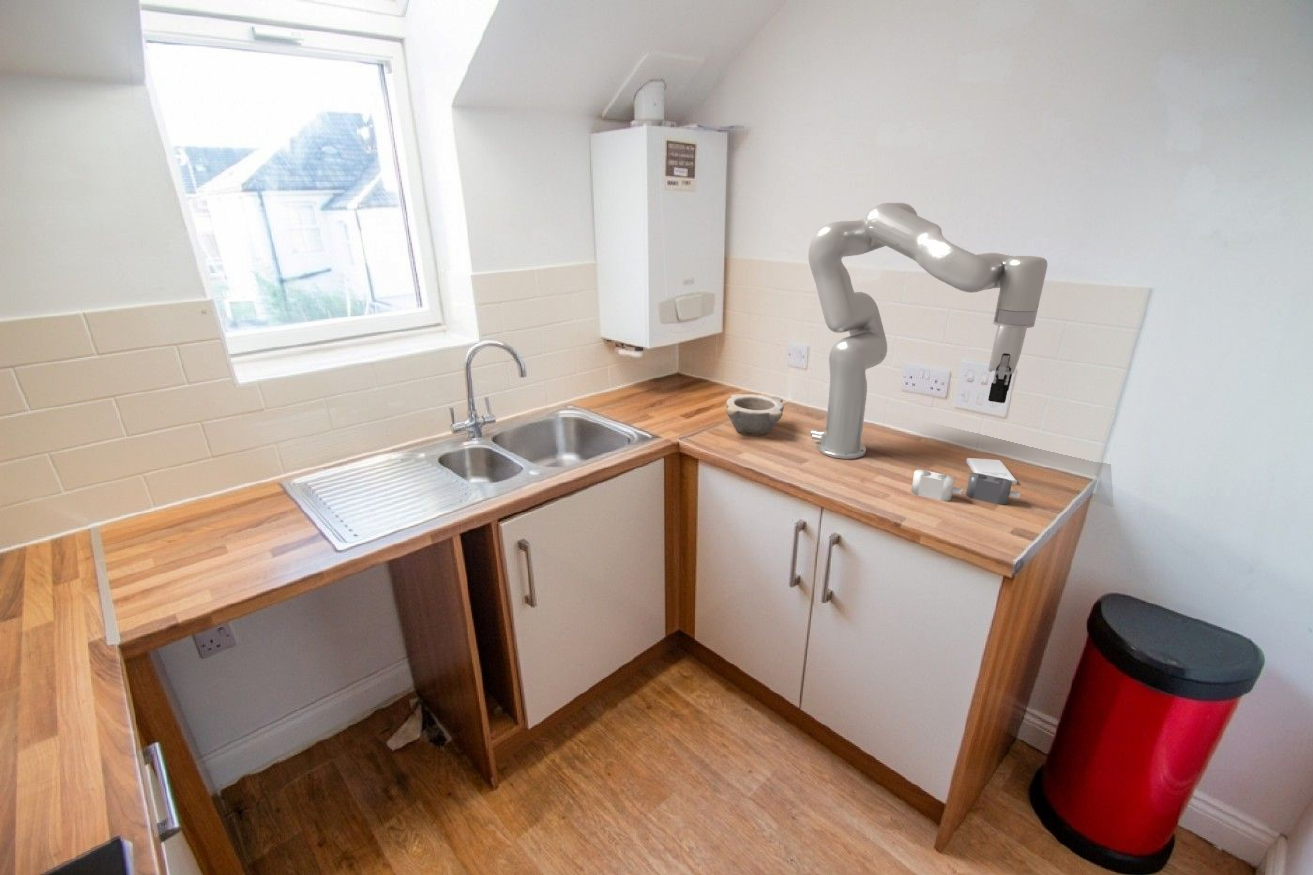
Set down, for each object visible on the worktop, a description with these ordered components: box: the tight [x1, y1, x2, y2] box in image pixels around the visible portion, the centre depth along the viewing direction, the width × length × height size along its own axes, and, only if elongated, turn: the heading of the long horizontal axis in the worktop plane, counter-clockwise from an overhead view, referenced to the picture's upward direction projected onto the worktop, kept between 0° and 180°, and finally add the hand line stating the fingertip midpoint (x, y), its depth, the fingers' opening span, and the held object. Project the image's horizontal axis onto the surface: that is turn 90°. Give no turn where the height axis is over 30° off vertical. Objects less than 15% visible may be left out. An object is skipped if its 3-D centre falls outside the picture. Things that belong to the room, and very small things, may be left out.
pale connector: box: [910, 469, 964, 502], centre depth 139 cm, size 11×4×5 cm, turn 56°
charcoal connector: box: [965, 472, 1021, 506], centre depth 137 cm, size 11×4×5 cm, turn 56°
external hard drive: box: [966, 457, 1018, 486], centre depth 151 cm, size 2×8×12 cm
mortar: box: [725, 393, 785, 437], centre depth 179 cm, size 17×17×9 cm
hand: (998, 395), depth 132 cm, fingers open, 9 cm apart
